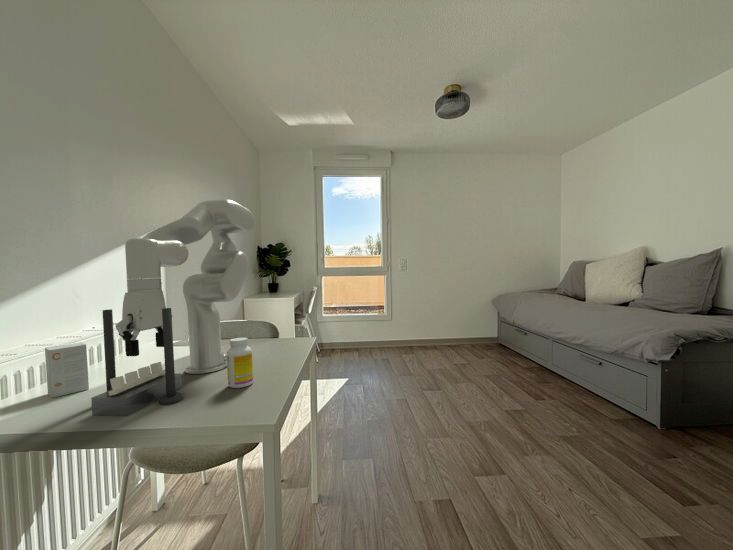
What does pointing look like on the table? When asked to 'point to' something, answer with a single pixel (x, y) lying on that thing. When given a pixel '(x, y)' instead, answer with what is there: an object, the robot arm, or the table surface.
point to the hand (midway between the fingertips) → (148, 351)
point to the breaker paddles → (135, 378)
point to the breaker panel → (132, 397)
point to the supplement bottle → (239, 363)
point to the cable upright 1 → (109, 347)
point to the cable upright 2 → (169, 361)
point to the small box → (66, 369)
